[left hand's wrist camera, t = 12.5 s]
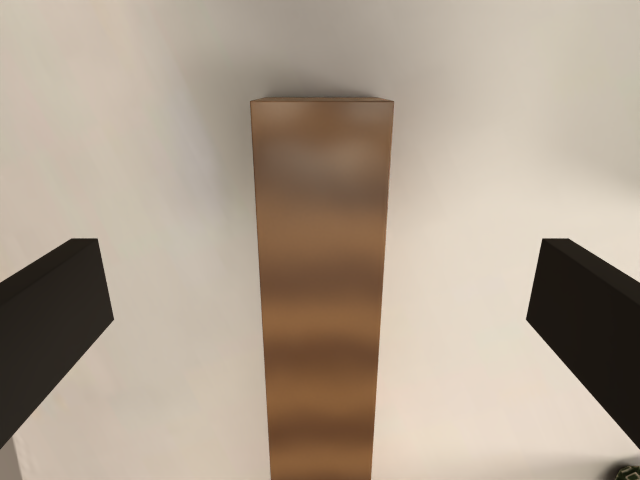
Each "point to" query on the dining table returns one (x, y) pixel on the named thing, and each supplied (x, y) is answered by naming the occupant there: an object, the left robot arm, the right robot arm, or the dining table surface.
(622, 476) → the grenade
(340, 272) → the wooden square beam
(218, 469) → the dining table surface
